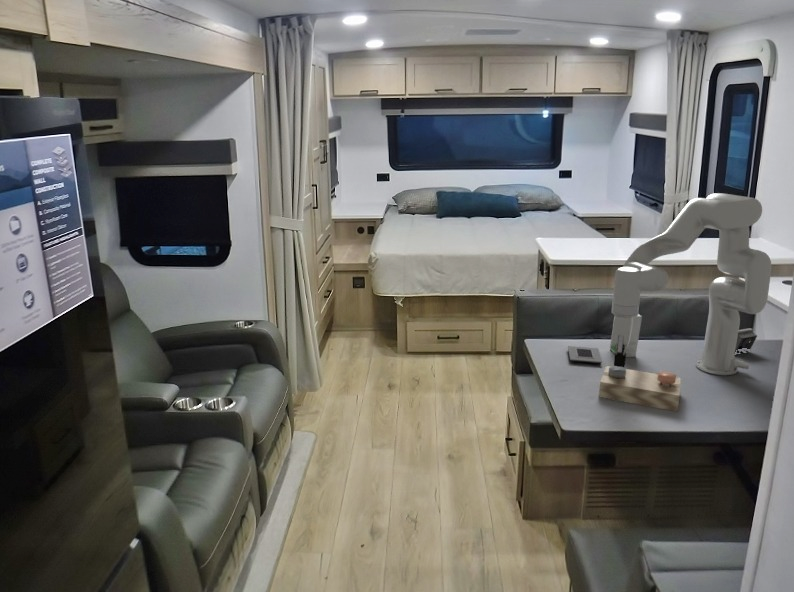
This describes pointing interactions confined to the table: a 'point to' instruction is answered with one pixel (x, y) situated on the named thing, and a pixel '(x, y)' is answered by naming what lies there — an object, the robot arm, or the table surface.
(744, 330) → the electrical switch
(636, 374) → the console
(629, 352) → the skincare box
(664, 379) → the terracotta button
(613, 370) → the grey button
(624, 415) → the table surface
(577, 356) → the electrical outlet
